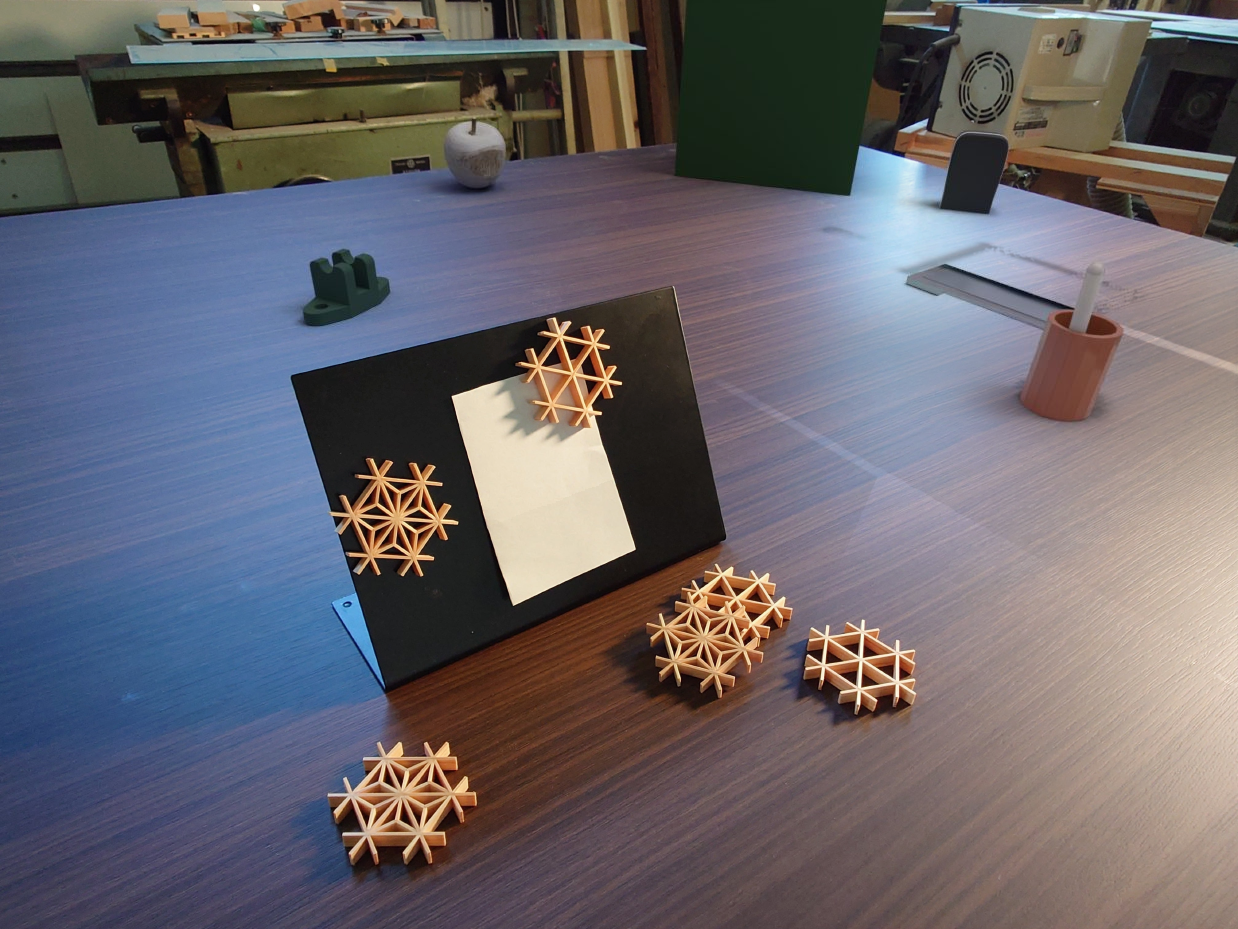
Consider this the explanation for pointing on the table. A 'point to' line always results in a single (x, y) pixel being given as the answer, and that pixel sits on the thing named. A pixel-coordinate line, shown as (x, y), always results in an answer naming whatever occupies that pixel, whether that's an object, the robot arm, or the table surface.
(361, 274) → the mount
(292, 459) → the table surface
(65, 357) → the table surface
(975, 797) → the table surface
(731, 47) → the binder
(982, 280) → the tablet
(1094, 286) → the stylus
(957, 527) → the table surface
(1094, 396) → the pen cup
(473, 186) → the decorative object
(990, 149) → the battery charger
